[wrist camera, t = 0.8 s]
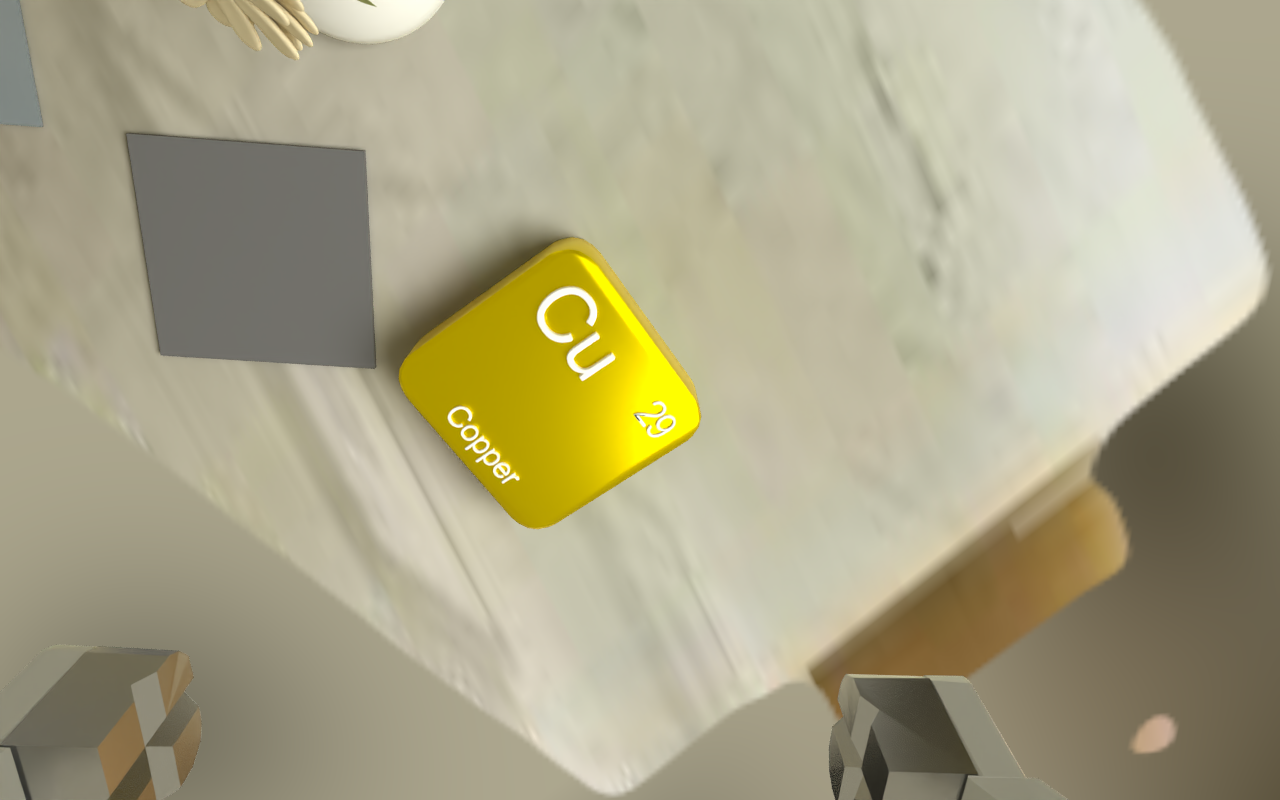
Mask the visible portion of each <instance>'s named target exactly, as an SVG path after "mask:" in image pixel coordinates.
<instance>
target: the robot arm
mask: <svg viewBox="0 0 1280 800" xmlns="http://www.w3.org/2000/svg"><path fill="white" fill-rule="evenodd" d="M193 678H194V677H193V672H192V668H191V664H190V660H189V656H188V655H186V654H184V653H182V652H180V651H173V650H157V649H139V648H122V647H105V646H98V647H91V646H74V645H54V646H52V647H49V648H46V649H44V650H42V651H41V652H40V653H39V654H38V655H37V656H36V657H35V658H34V659H33V660H32V661H31V662H30V663H29V664H28V665H27V666H26V667H25V668H24V669H23V670H22V671H21V672H20V673H19V674H18V675H17V676H16V677H15V678H14V679H12V680H11V681H10V683H8V685H6V686H5V687H4V688H3V690H2V691H0V800H163V799H165V798H166V797H168V796H169V795H171V794H172V793H173V792H175V791H177V790H178V789H180V788H181V786H182V784H183V783H184V781H185V780H186V778H187V776H188V774H189V773H190V771H191V769H192V768H193V765H194V762H195V759H196V755H197V752H198V749H199V746H200V742H201V727H202V721H201V715H200V709H199V706H198V705H197V704H196V703H195V702H194V701H193V700H192V699H191V698H190V697H189V696H188V695H187V694H186V693H185V692H184V691H185V689H186V687H187V686H188V685H189V684H190V682H191V681H192V679H193ZM838 701H839V704H840V707H841V710H842V714H843V717H842V718H841V719H840V720H839V721H838V722H837V723H836V724H835V725H834V726H832V732H831V738H830V745H829V772H830V778H831V784H832V790H833V793H834V797H835V800H1068V799H1067V798H1065V797H1064V796H1062V795H1061V794H1060V793H1058V792H1057V791H1055V790H1054V789H1052V788H1051V787H1050V786H1048V785H1047V784H1046V783H1044V782H1043V781H1042V780H1040V779H1039V778H1026V776H1025V775H1024V773H1023V771H1022V770H1021V768H1020V766H1019V764H1018V763H1017V761H1016V759H1015V757H1014V756H1013V754H1012V752H1011V751H1010V749H1009V747H1008V745H1007V744H1006V742H1005V740H1004V739H1003V737H1002V735H1001V733H1000V732H999V730H998V728H997V727H996V725H995V723H994V721H993V720H992V718H991V716H990V715H989V713H988V711H987V709H986V708H985V706H984V704H983V703H982V701H981V699H980V697H979V696H978V694H977V692H976V691H975V689H974V687H973V685H972V684H971V682H970V681H969V680H968V679H966V678H965V677H964V676H923V677H921V676H893V675H857V674H846V675H845V677H844V678H843V680H842V682H841V686H840V690H839V695H838Z"/></svg>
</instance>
